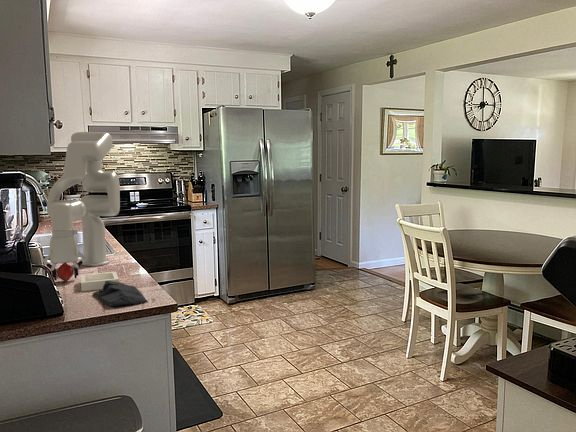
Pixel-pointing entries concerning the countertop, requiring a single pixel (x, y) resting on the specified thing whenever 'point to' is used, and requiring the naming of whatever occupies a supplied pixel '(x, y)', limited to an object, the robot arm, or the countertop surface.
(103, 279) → the dish
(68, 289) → the countertop surface
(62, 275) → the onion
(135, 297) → the dark grey folded cloth
